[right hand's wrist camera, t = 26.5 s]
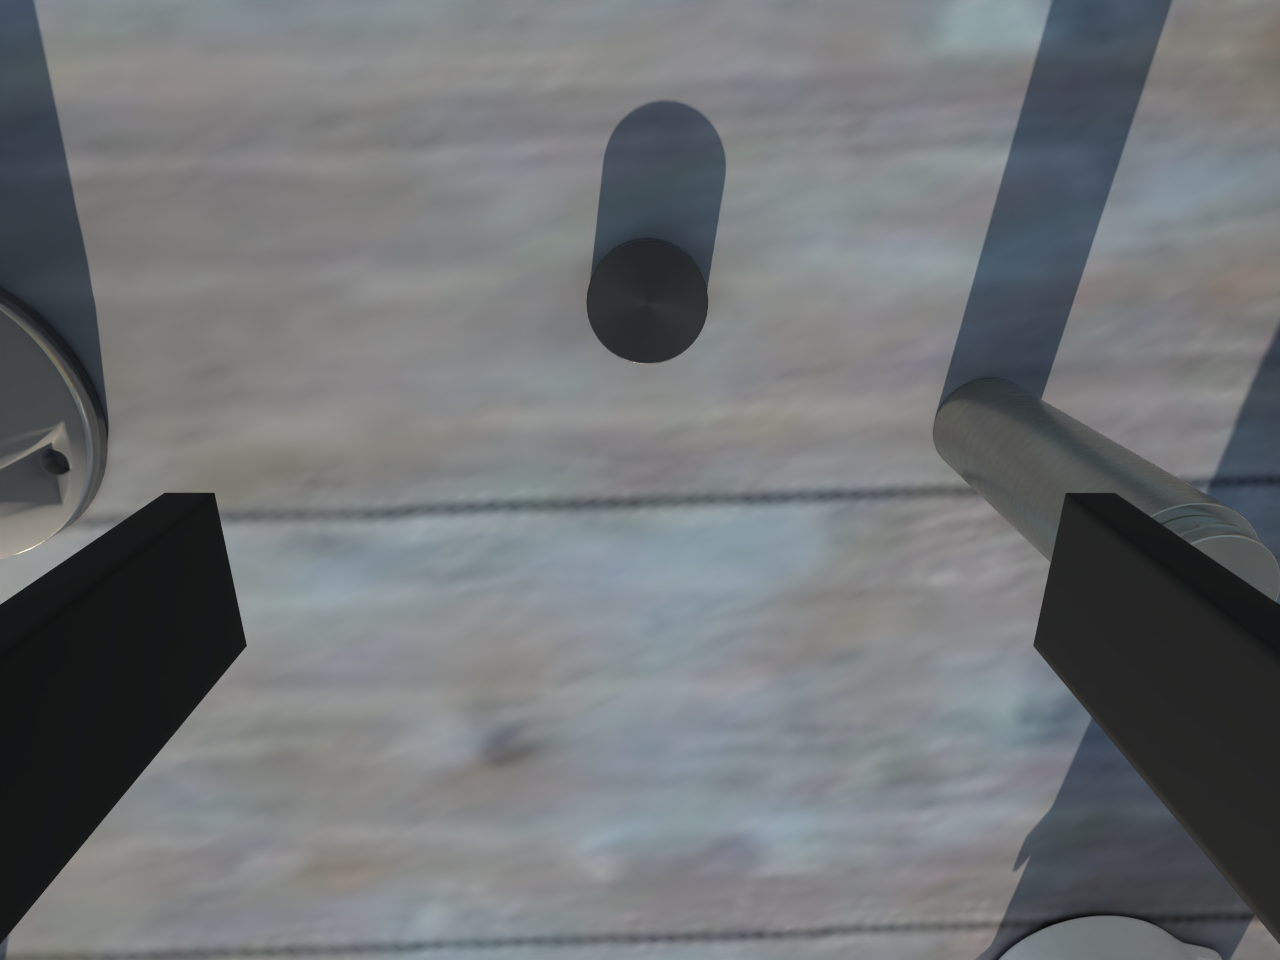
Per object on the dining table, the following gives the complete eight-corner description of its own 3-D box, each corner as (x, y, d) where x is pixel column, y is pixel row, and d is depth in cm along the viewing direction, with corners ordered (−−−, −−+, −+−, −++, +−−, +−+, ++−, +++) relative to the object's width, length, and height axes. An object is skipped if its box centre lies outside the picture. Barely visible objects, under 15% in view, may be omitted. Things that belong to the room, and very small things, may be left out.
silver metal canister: (986, 357, 40) (1228, 489, 24) (1054, 418, 41) (1330, 585, 25) (912, 433, 42) (1091, 608, 25) (979, 490, 43) (1194, 693, 26)
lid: (613, 372, 40) (612, 380, 39) (571, 263, 38) (568, 267, 37) (720, 333, 40) (724, 340, 38) (683, 220, 38) (685, 222, 36)
